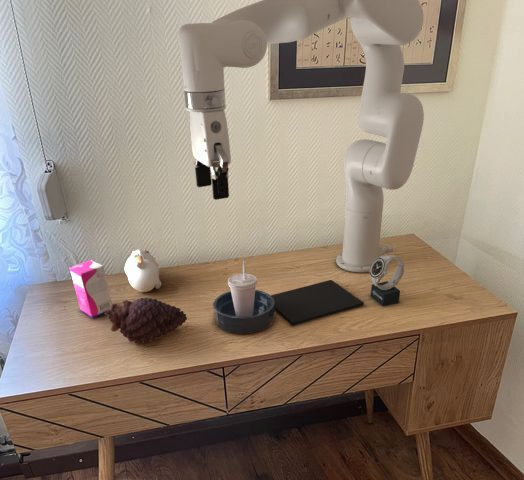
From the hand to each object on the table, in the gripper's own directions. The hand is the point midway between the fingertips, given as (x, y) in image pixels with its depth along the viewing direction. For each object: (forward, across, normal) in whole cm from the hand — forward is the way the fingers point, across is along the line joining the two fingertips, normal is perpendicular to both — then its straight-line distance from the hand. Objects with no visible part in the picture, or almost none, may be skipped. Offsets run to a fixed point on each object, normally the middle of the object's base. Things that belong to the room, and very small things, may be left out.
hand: (212, 192), depth 108 cm
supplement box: (+28, +14, +26) cm, 41 cm away
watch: (+28, -14, -36) cm, 48 cm away
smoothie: (+28, -6, -3) cm, 28 cm away
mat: (+28, -7, -21) cm, 35 cm away
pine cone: (+28, -4, +18) cm, 34 cm away
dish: (+28, -6, -3) cm, 29 cm away
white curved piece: (+28, +22, +12) cm, 38 cm away
